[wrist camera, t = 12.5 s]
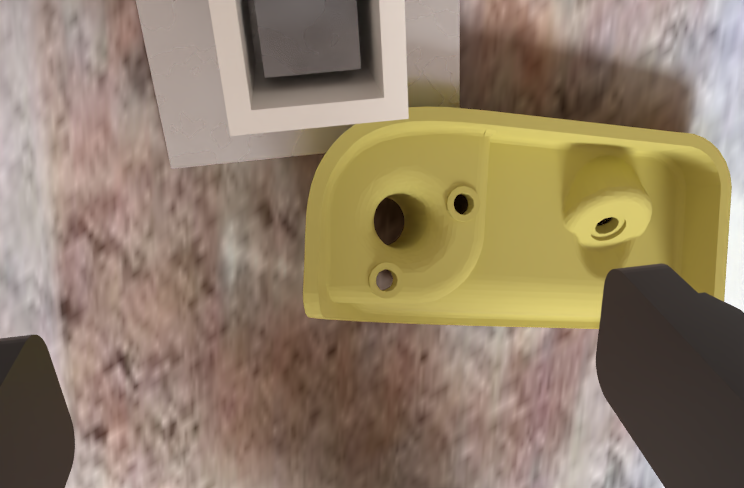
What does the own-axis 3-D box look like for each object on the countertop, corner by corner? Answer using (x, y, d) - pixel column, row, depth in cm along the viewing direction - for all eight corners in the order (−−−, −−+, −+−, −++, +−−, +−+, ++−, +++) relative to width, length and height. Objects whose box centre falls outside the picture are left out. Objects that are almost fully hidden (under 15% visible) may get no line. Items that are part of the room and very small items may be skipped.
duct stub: (453, -195, 26) (499, -216, 21) (454, 132, 32) (490, 180, 27) (104, -174, 25) (59, -191, 20) (174, 160, 31) (153, 216, 26)
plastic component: (735, 138, 32) (720, 352, 32) (635, 154, 39) (624, 329, 39) (313, 90, 27) (298, 345, 27) (288, 119, 34) (276, 320, 34)
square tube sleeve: (371, -84, 26) (401, -77, 20) (379, 70, 29) (408, 118, 23) (215, -73, 26) (198, -62, 20) (239, 83, 29) (230, 136, 23)
